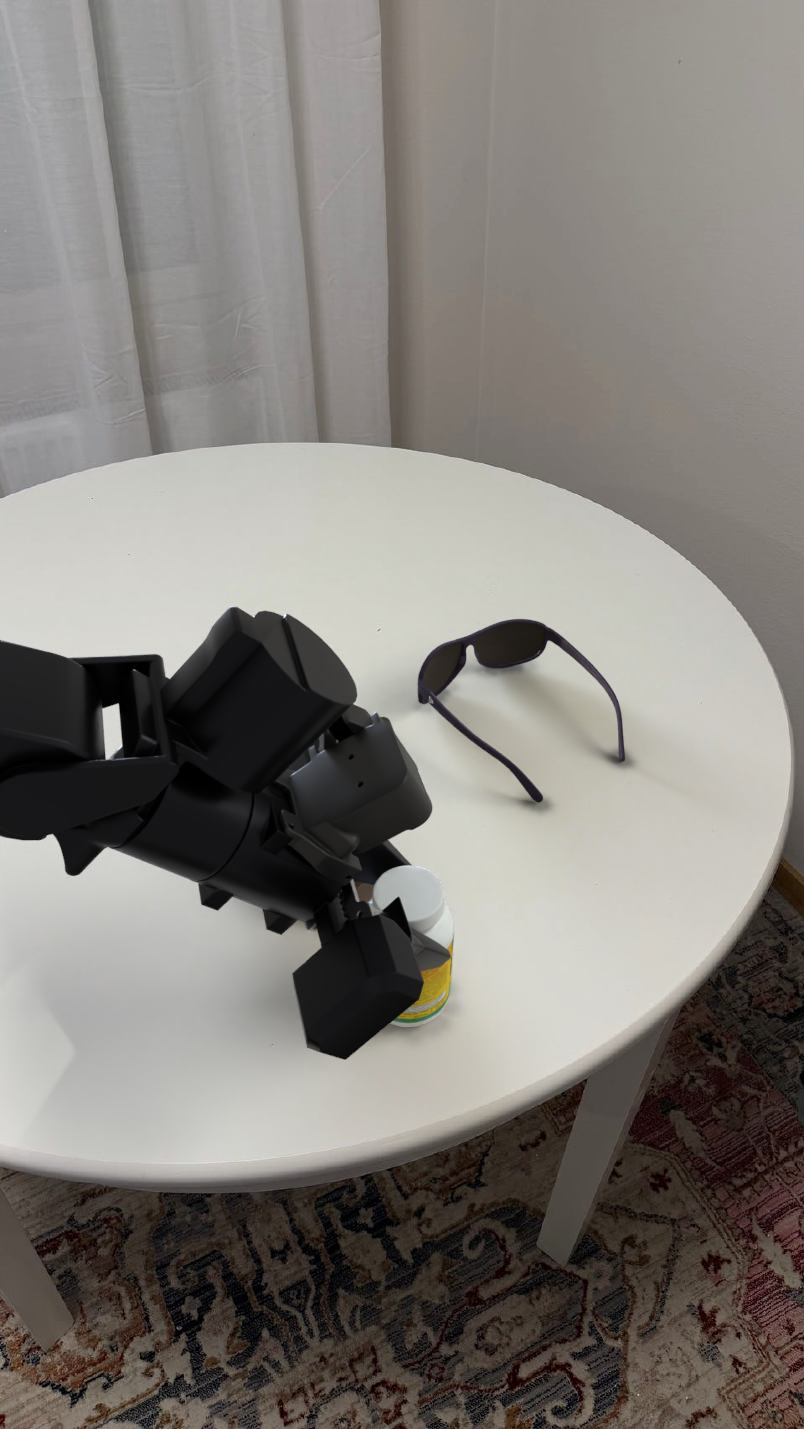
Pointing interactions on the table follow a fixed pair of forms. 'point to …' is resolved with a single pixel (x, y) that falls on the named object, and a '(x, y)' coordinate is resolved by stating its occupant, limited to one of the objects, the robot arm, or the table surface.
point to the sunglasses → (500, 650)
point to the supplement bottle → (429, 918)
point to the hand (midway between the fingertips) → (430, 920)
